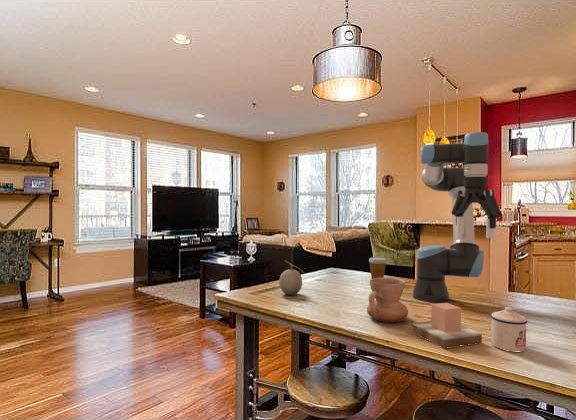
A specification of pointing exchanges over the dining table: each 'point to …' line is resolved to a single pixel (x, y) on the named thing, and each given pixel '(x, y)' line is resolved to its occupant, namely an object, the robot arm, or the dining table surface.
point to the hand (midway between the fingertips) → (474, 235)
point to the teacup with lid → (508, 330)
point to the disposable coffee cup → (377, 267)
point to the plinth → (447, 335)
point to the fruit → (290, 281)
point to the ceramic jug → (386, 300)
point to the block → (446, 317)
